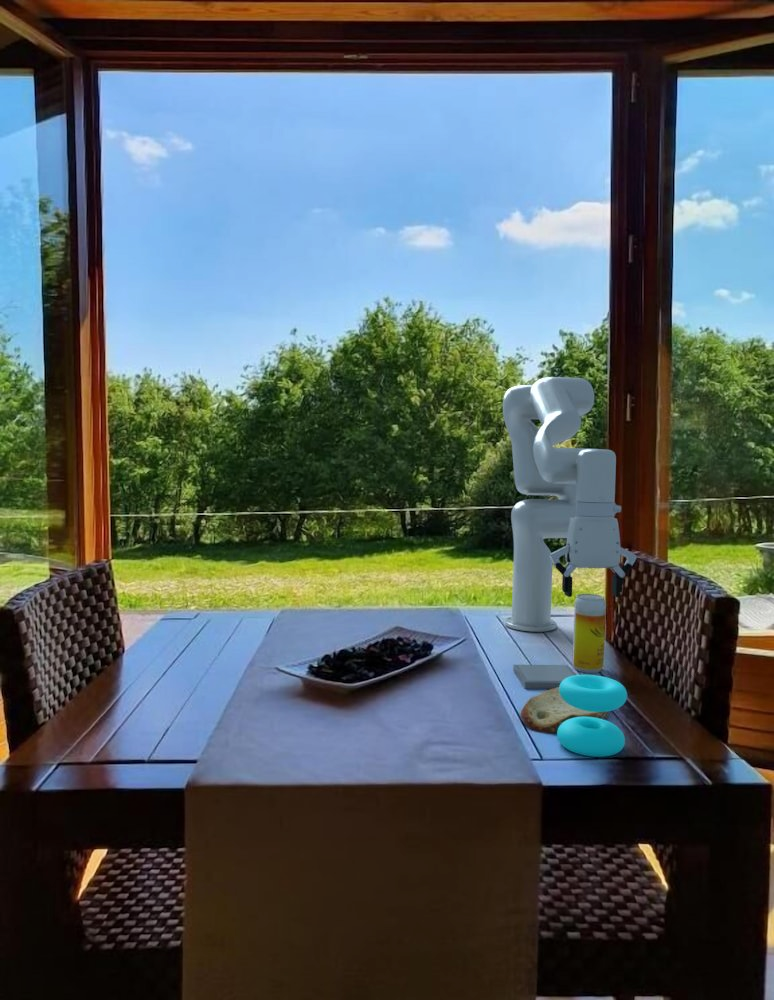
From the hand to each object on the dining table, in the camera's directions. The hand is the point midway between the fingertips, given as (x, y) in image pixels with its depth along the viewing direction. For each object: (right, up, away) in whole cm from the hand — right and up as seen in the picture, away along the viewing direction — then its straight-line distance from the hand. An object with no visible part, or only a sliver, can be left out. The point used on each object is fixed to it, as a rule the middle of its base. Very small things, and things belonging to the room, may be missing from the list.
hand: (591, 595), depth 154 cm
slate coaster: (-10, -16, -6) cm, 19 cm away
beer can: (0, -15, +2) cm, 15 cm away
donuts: (-10, -19, -37) cm, 43 cm away
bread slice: (-11, -18, -23) cm, 31 cm away
